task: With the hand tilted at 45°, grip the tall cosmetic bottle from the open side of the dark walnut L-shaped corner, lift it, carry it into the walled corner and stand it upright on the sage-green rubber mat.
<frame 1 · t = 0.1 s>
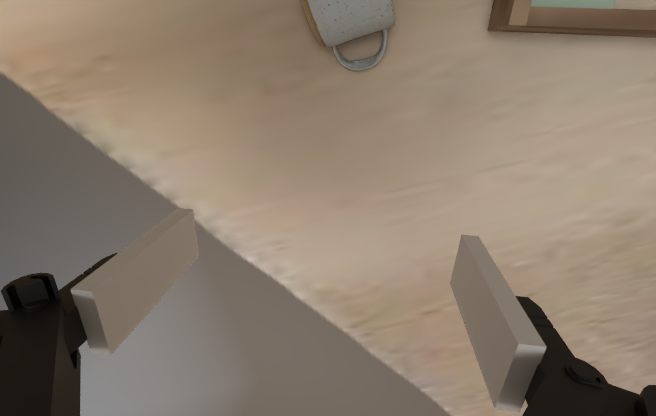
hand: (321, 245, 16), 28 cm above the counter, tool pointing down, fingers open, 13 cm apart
ceramic mug: (355, 16, 37), on the counter
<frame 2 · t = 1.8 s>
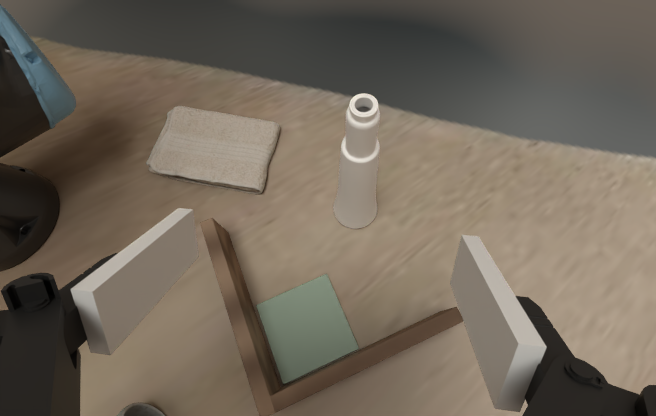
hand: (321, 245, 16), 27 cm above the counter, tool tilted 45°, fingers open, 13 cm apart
washcloth: (218, 153, 51), on the counter
cosmetic bottle: (355, 208, 46), on the counter
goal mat: (306, 326, 41), on the counter
walnut corner walls: (325, 277, 43), on the counter
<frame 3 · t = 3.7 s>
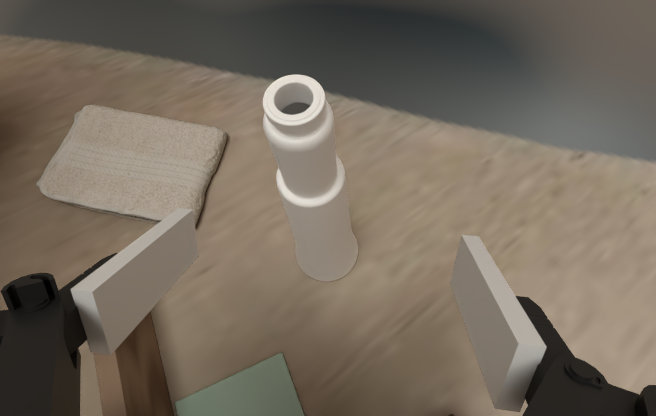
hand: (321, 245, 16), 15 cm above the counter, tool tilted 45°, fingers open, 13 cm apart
washcloth: (143, 170, 37), on the counter
cosmetic bottle: (326, 250, 32), on the counter
walnut corner walls: (280, 357, 29), on the counter
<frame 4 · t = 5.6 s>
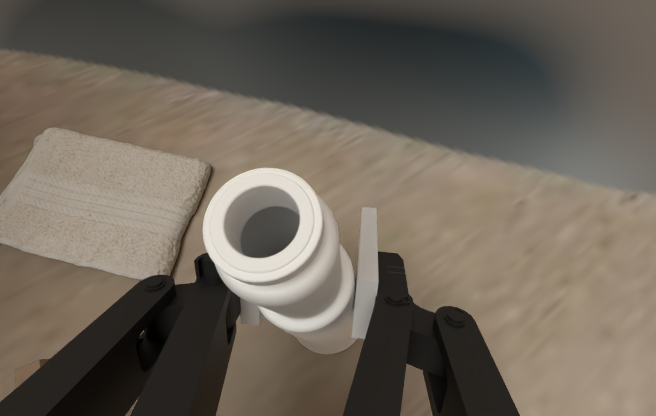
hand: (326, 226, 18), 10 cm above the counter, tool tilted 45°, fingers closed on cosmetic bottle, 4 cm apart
washcloth: (111, 206, 32), on the counter
cosmetic bottle: (327, 312, 27), on the counter, touching gripper
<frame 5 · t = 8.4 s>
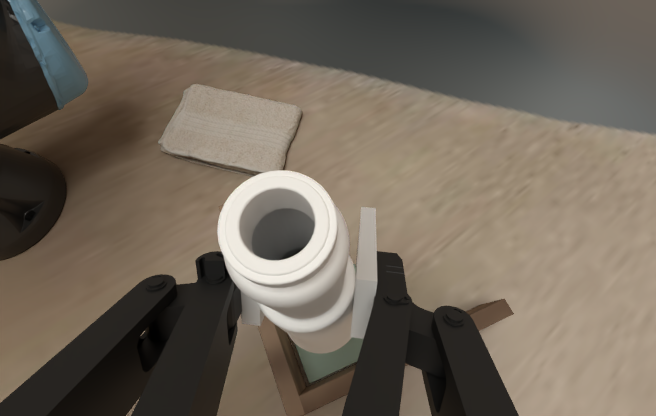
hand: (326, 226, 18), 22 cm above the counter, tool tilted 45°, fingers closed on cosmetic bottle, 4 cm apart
washcloth: (234, 136, 48), on the counter
cosmetic bottle: (321, 312, 27), point 12 cm above the counter, touching gripper
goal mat: (333, 320, 37), on the counter
walnut corner walls: (352, 267, 39), on the counter
when the fingers open (12 cm above the counter, at t = 10.9 s): cosmetic bottle drops 1 cm, resting on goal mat.
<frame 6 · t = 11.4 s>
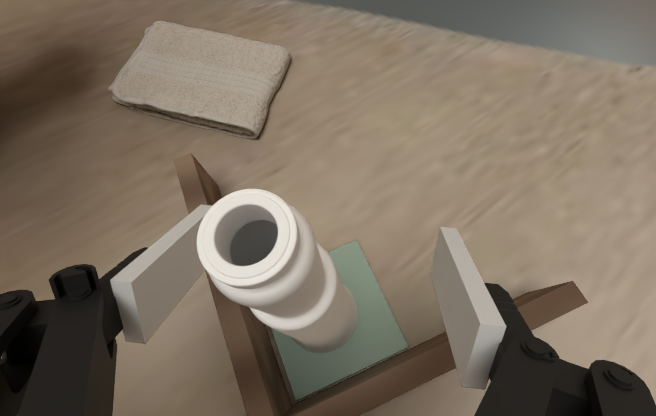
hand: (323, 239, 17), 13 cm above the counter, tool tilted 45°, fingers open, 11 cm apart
washcloth: (206, 86, 38), on the counter
cosmetic bottle: (321, 313, 28), resting on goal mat
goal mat: (328, 314, 28), on the counter
walnut corner walls: (355, 244, 30), on the counter
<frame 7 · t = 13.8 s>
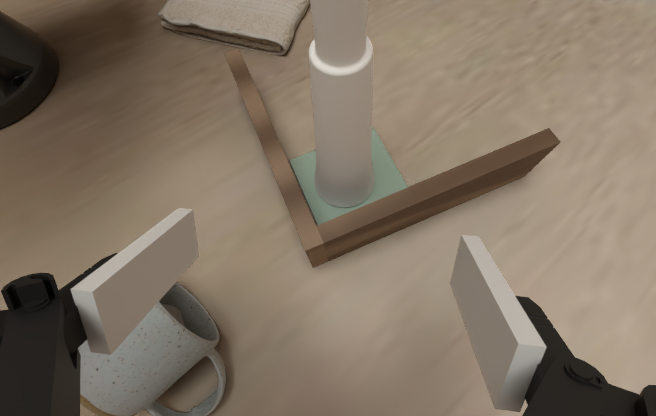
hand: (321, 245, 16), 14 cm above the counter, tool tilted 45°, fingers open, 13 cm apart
ceramic mug: (182, 352, 29), on the counter
washcloth: (240, 16, 44), on the counter
cosmetic bottle: (344, 181, 34), resting on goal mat
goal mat: (350, 182, 34), on the counter
walnut corner walls: (371, 131, 36), on the counter
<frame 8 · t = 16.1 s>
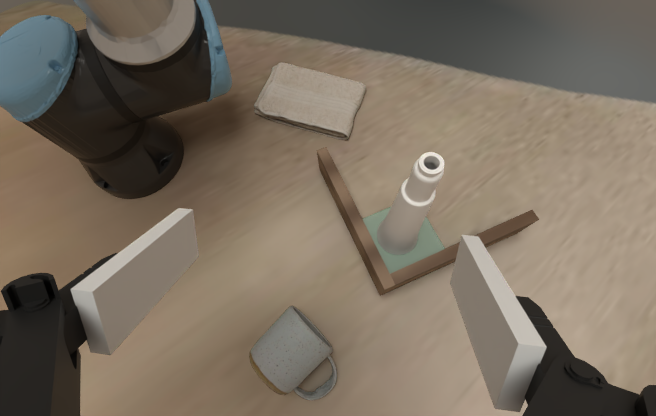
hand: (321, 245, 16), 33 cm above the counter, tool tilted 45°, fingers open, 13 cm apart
ceramic mug: (303, 354, 45), on the counter
washcloth: (311, 105, 61), on the counter
cosmetic bottle: (396, 235, 50), resting on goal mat
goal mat: (401, 236, 50), on the counter
walnut corner walls: (413, 199, 52), on the counter
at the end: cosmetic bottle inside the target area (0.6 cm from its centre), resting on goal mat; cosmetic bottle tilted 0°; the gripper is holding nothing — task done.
